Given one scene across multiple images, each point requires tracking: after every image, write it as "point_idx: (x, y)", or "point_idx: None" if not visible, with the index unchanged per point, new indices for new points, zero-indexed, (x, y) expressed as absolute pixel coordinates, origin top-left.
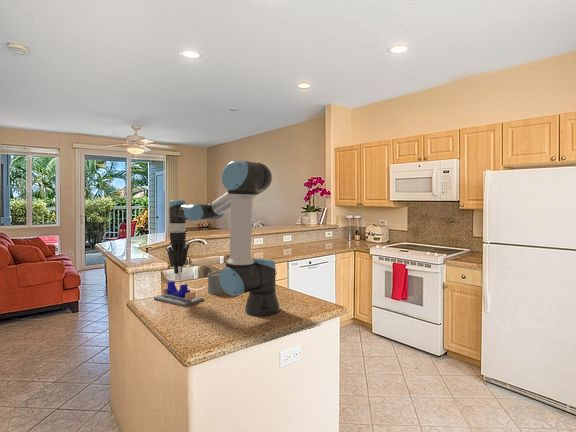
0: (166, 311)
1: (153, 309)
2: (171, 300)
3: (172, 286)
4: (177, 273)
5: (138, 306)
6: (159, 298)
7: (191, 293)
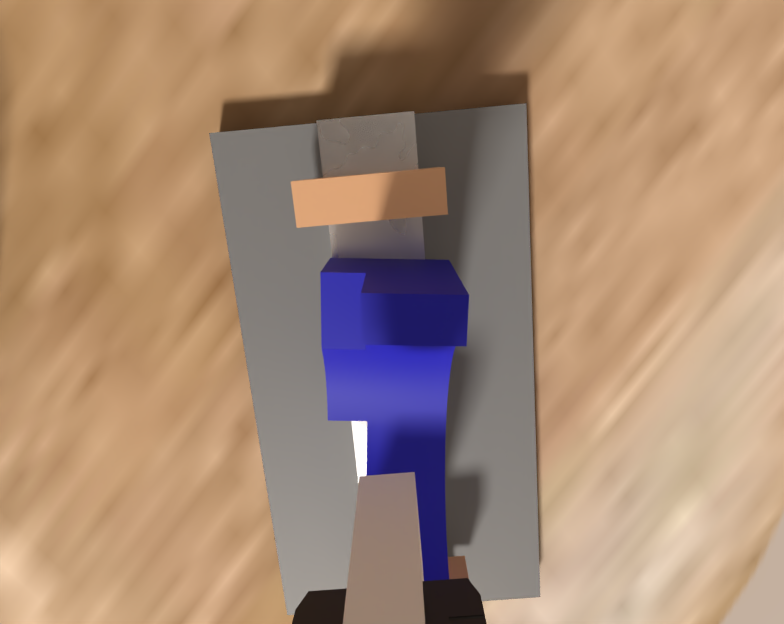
0: (748, 126)
1: (764, 302)
2: (515, 357)
3: None
4: (424, 591)
5: (764, 501)
6: (537, 519)
7: (368, 174)
